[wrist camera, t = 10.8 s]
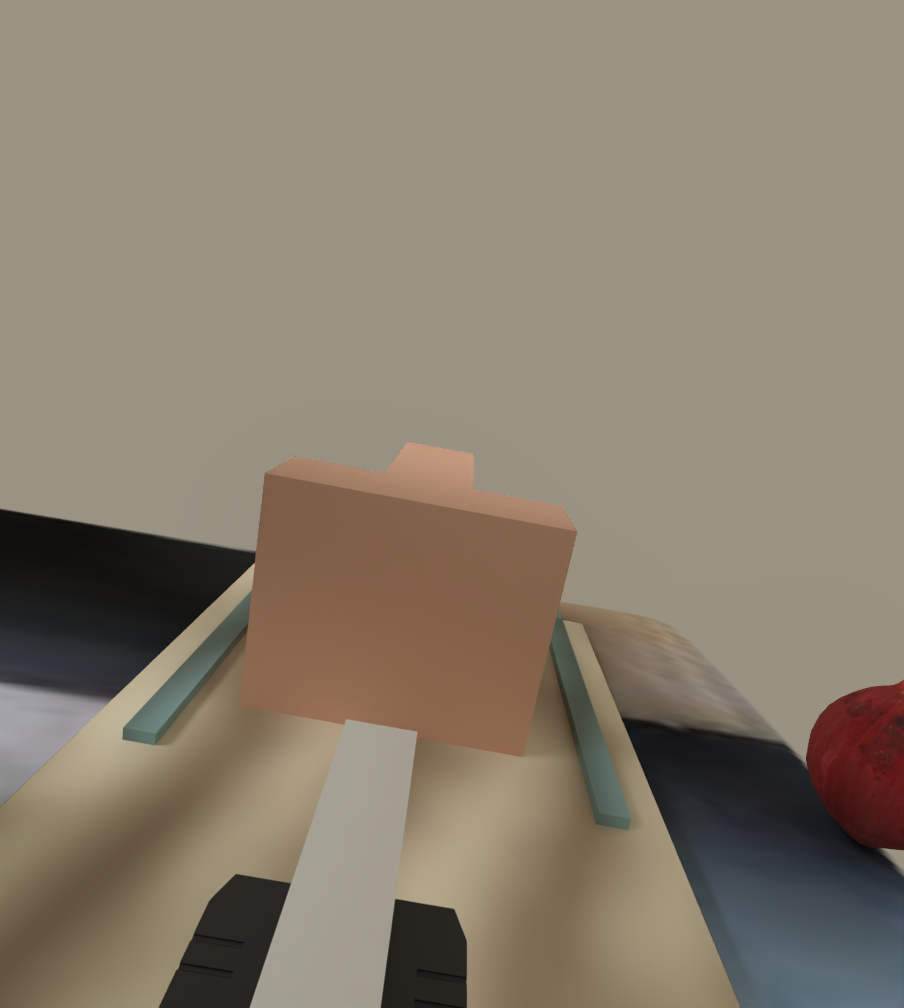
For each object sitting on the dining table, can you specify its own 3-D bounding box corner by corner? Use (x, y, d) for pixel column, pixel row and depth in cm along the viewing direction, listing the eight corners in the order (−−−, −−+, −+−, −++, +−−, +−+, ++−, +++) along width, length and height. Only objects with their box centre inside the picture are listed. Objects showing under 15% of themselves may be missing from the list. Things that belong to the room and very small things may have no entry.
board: (-1145, 1999, 5) (-1229, 1935, 5) (252, 577, 40) (255, 556, 40) (1230, 2351, 6) (1313, 2312, 5) (578, 637, 41) (583, 616, 40)
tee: (239, 705, 25) (264, 473, 23) (321, 583, 39) (342, 429, 37) (522, 757, 26) (577, 531, 23) (505, 617, 39) (538, 466, 37)
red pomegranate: (914, 927, 22) (1002, 733, 20) (759, 816, 26) (819, 648, 24) (960, 867, 25) (1039, 698, 23) (817, 779, 30) (874, 630, 28)
